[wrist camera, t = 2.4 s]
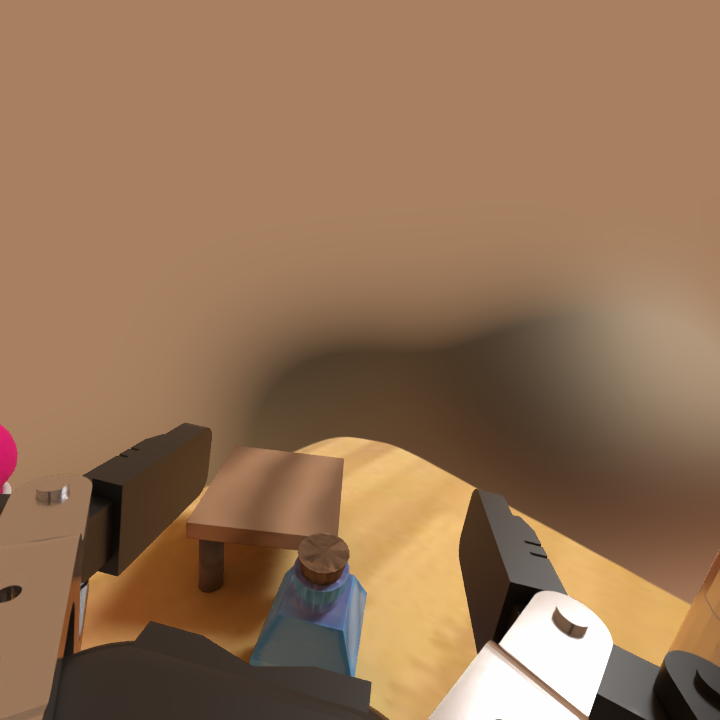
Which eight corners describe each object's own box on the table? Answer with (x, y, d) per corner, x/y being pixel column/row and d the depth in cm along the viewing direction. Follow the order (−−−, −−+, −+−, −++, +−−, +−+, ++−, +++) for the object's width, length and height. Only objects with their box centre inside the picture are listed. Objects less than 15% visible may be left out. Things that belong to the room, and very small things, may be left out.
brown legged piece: (336, 515, 44) (343, 458, 42) (327, 610, 32) (337, 539, 30) (232, 503, 43) (235, 445, 41) (186, 595, 32) (186, 522, 30)
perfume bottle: (245, 729, 24) (255, 581, 20) (279, 635, 30) (291, 508, 26) (339, 756, 23) (367, 608, 20) (355, 654, 29) (378, 527, 26)
